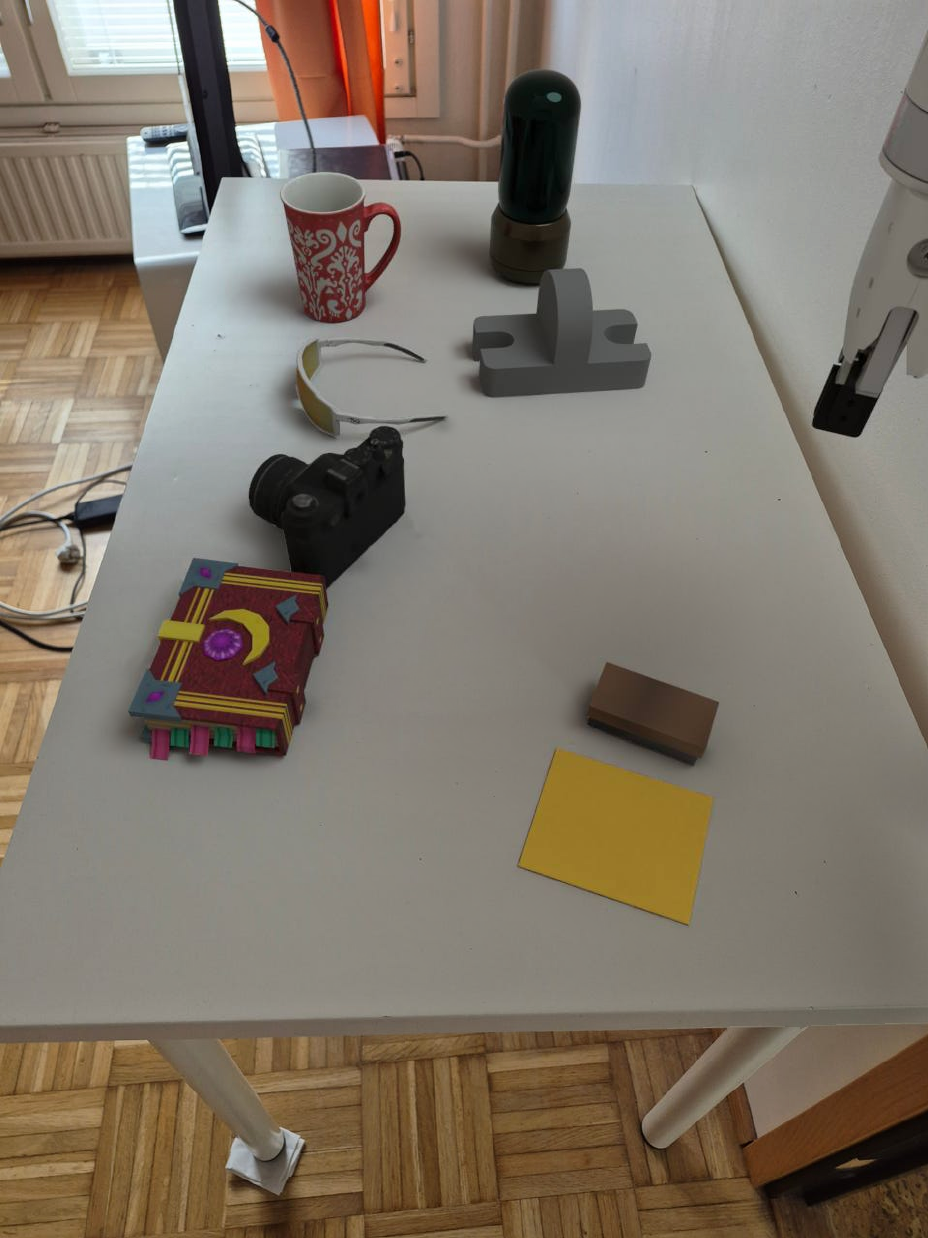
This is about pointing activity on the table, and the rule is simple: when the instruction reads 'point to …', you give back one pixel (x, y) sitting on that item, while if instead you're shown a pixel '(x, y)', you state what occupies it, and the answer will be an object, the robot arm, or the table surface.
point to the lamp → (535, 176)
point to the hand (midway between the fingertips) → (835, 425)
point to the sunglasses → (325, 412)
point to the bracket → (559, 344)
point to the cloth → (619, 835)
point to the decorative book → (232, 660)
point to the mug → (333, 242)
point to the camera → (333, 502)
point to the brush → (652, 713)
